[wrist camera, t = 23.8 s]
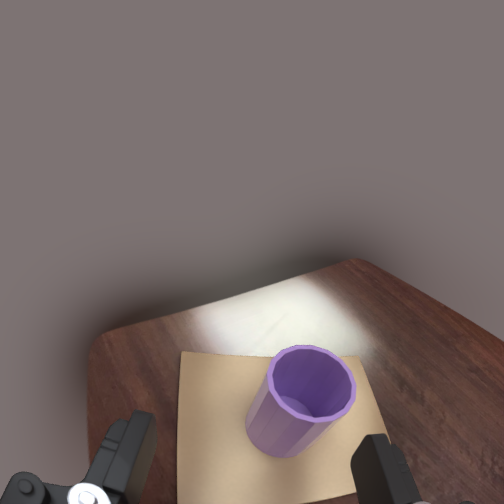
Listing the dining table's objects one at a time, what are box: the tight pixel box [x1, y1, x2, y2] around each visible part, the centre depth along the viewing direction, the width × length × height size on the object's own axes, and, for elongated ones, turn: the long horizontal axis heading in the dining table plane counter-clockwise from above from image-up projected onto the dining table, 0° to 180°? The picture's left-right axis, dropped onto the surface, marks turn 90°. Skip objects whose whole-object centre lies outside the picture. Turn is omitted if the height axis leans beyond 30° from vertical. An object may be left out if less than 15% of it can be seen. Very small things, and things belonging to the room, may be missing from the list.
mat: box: [177, 351, 391, 504], centre depth 24 cm, size 20×16×1 cm
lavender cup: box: [245, 345, 356, 458], centre depth 21 cm, size 7×7×8 cm
